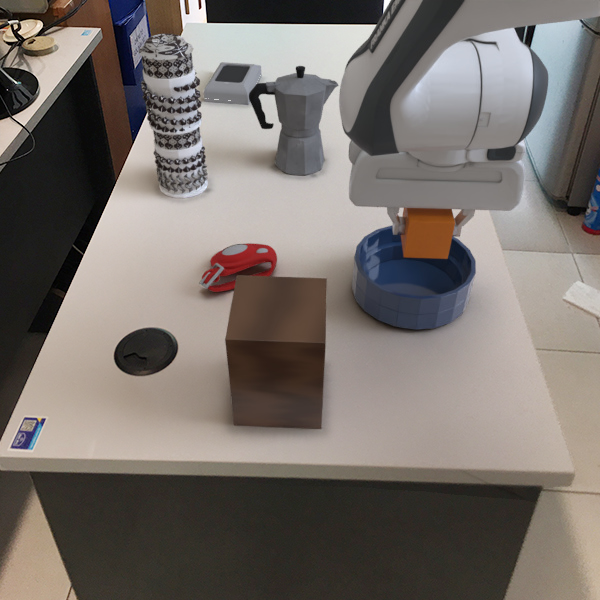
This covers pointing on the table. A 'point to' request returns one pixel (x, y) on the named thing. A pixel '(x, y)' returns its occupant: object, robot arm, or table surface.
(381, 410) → the table surface
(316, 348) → the block
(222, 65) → the grey electronic device
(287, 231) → the table surface
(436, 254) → the orange cube
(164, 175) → the decorative candle
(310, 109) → the coffeepot
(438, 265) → the bowl
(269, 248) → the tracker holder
